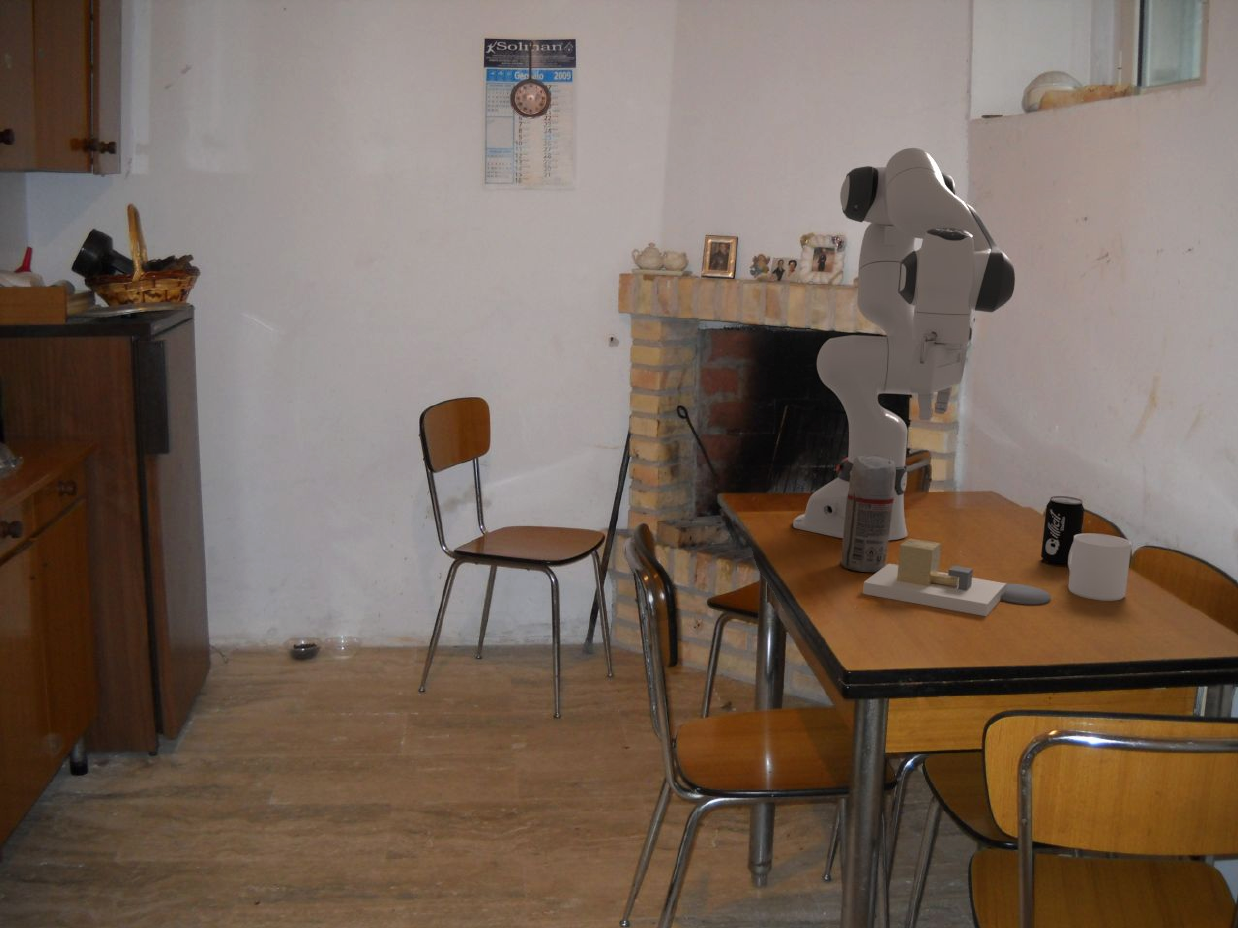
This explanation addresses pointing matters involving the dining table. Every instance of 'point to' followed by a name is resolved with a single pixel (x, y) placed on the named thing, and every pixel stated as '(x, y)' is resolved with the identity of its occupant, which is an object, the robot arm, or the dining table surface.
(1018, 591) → the slate coaster
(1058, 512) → the beverage can
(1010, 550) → the dining table surface
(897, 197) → the robot arm
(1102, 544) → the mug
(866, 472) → the spray can
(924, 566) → the tan wooden block
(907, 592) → the base
